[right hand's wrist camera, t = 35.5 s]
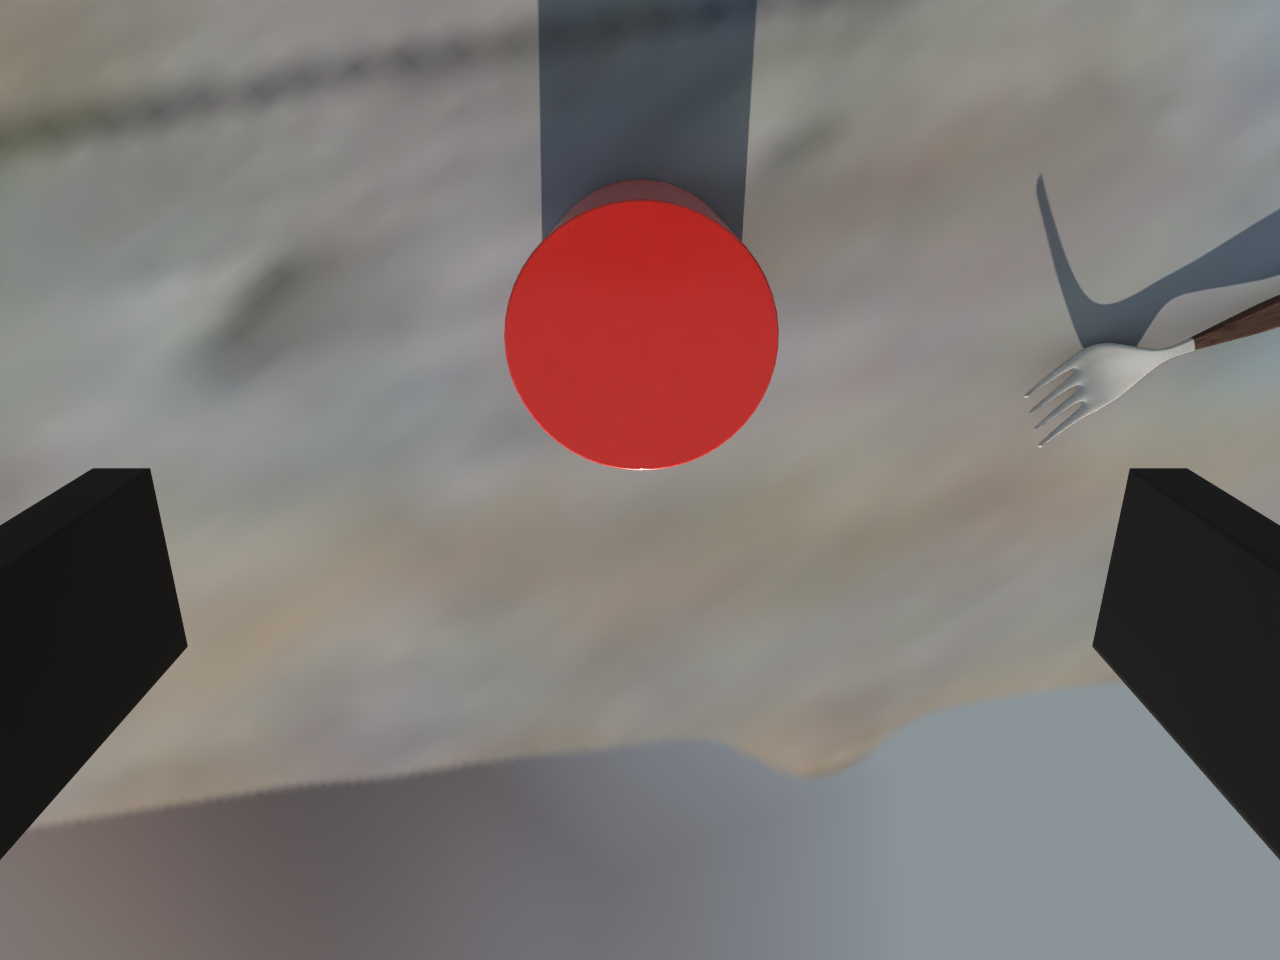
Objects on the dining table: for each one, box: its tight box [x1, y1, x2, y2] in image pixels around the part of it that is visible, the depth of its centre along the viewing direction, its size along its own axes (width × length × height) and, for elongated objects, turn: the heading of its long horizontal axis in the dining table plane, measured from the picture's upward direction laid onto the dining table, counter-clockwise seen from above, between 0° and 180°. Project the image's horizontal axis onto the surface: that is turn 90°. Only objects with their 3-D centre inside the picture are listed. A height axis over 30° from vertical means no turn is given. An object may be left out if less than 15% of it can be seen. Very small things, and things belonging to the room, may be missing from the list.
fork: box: [1024, 295, 1280, 447], centre depth 33 cm, size 3×16×2 cm, turn 113°
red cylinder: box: [504, 179, 779, 470], centre depth 29 cm, size 8×8×10 cm
